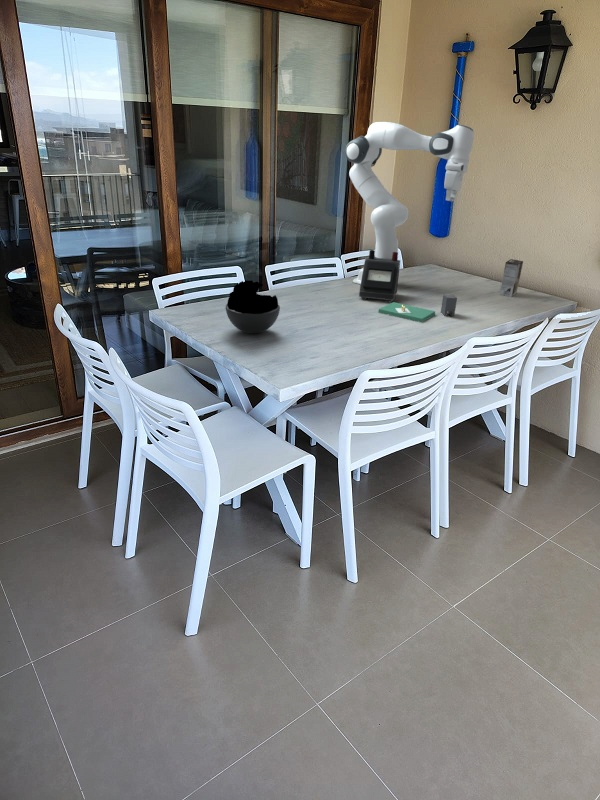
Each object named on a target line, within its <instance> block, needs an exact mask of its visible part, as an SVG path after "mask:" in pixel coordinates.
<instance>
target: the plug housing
mask: <svg viewBox="0 0 600 800" xmlns="http://www.w3.org/2000/svg"><path fill="white" fill-rule="evenodd" d="M457 301H458V297H457V296H456V295H454V294H443V296H442V300H441V306H440V313H442V314H443V315H444V317H448V315H450V317H455V313H456V307H457ZM448 313H449V314H448ZM442 314H441V315H442ZM443 315H442V316H443Z"/></svg>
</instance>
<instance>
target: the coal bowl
mask: <svg viewBox="0 0 600 800" xmlns="http://www.w3.org/2000/svg"><path fill="white" fill-rule="evenodd" d="M263 286H264V284H263V283H260V282H259V281H253V279H252V280H248V279H247V280H244V281H243V280H241V281H239V282H238V283H237V284H235V285H233V289H232V291H231V292H230V293H229V296H228V299H227V303H226V305H225V311H226V316H227V318H228V319H229V321H230V323H231V324H232V325H233V326H234V327H235V328H236V329H238V330H239V331H242V332H244V333H248V334H258V333H259V334H260V333H262V332H265V331H267V330H269V329H270V328H271V327H272V326H273V325H274V324H275V323H276V321H277V319H278V318H279V315H280V312H281V311H280V308H281V307H280V305H279V301H278V297H277V295H275V294H274V295H273V296H272V295H269V294H263V295H262V294H258V291H259V289H260V288H261V287H263Z"/></svg>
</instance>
